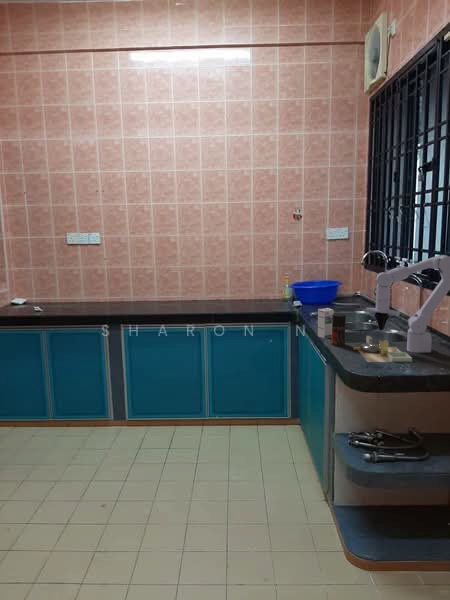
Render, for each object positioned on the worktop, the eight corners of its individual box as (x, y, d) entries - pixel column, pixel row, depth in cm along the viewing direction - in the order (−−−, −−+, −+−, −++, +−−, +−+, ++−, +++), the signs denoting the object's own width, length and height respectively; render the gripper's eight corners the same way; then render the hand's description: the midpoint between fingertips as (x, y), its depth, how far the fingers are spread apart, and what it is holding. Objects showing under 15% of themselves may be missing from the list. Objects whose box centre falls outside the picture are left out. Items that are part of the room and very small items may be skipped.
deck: (395, 348, 199) (395, 346, 198) (412, 363, 177) (413, 361, 177) (355, 348, 200) (355, 346, 200) (367, 363, 178) (367, 361, 178)
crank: (378, 345, 201) (379, 335, 200) (386, 352, 189) (387, 342, 188) (350, 345, 202) (350, 335, 201) (355, 352, 190) (356, 342, 189)
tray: (405, 356, 185) (405, 352, 184) (411, 362, 177) (411, 357, 177) (386, 356, 185) (386, 352, 185) (392, 361, 178) (392, 357, 177)
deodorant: (346, 347, 202) (347, 316, 199) (334, 348, 201) (334, 316, 199) (342, 344, 207) (343, 313, 205) (329, 344, 207) (330, 313, 204)
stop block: (385, 353, 189) (386, 340, 188) (388, 355, 186) (388, 342, 185) (378, 353, 189) (379, 340, 188) (380, 355, 186) (381, 342, 185)
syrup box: (324, 339, 217) (324, 310, 215) (317, 336, 223) (317, 308, 220) (333, 337, 219) (334, 309, 217) (326, 335, 225) (327, 307, 222)
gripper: (402, 300, 191) (401, 330, 194) (370, 297, 201) (369, 325, 203) (396, 302, 186) (395, 333, 188) (364, 299, 196) (363, 328, 198)
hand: (381, 329), depth 195 cm, fingers closed
